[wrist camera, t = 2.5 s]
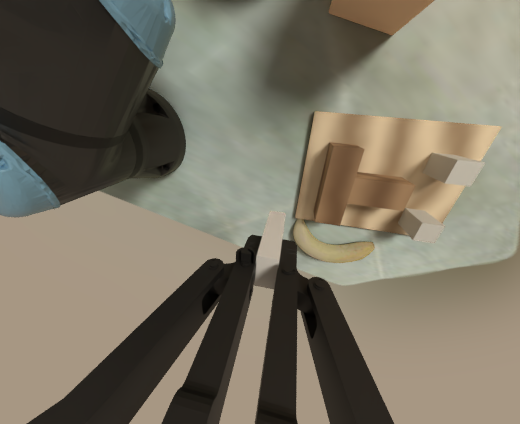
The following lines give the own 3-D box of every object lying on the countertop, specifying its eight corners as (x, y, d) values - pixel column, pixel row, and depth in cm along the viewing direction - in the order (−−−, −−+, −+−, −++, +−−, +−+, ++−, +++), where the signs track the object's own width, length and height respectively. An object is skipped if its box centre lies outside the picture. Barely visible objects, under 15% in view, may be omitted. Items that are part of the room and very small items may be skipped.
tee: (313, 210, 35) (315, 221, 31) (329, 142, 29) (333, 146, 26) (382, 221, 33) (392, 233, 30) (413, 150, 28) (430, 156, 24)
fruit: (354, 264, 40) (358, 276, 37) (286, 242, 41) (285, 252, 38) (372, 238, 37) (379, 249, 34) (298, 214, 37) (298, 222, 34)
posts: (397, 223, 33) (412, 239, 29) (432, 152, 27) (457, 159, 23) (416, 225, 33) (434, 243, 28) (455, 154, 27) (485, 162, 23)
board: (295, 215, 37) (295, 217, 36) (314, 111, 28) (315, 111, 28) (429, 235, 34) (432, 238, 33) (495, 126, 26) (502, 126, 25)
